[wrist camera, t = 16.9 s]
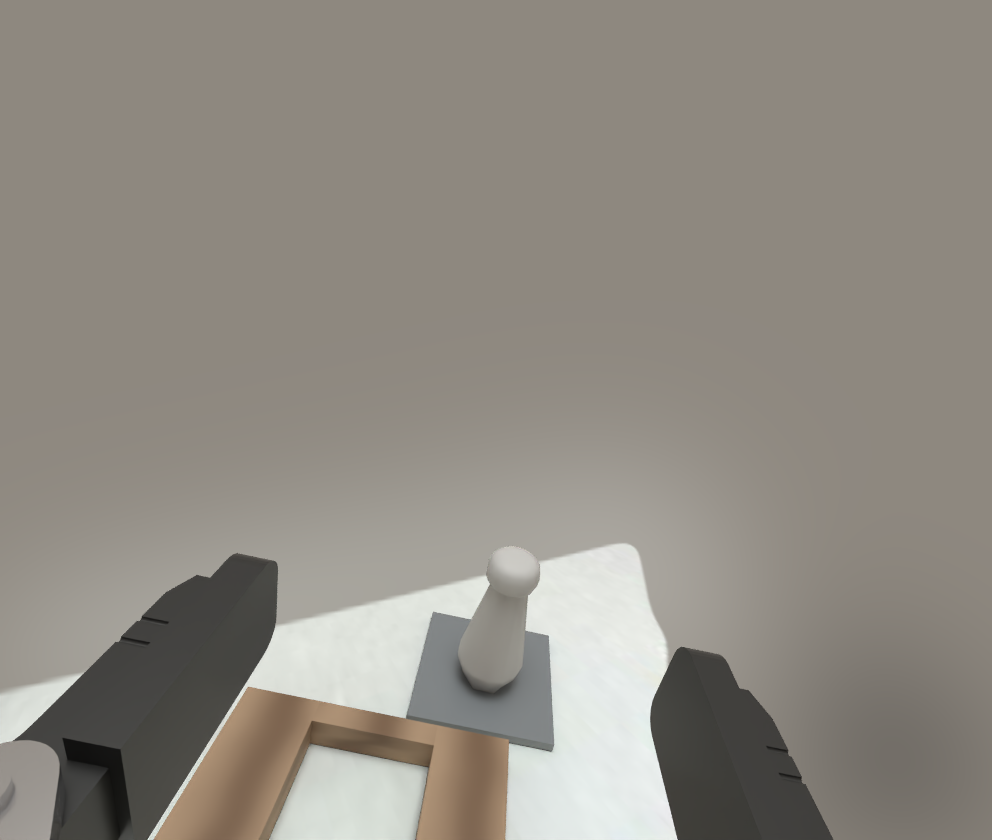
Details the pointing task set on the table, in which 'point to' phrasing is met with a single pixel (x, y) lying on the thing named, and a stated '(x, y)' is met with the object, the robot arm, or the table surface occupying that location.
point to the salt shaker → (499, 621)
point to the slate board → (457, 705)
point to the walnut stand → (299, 721)
